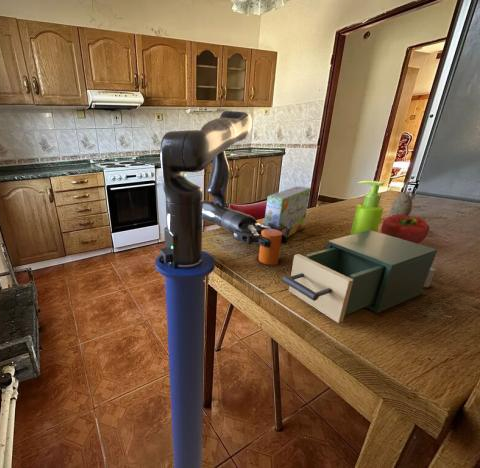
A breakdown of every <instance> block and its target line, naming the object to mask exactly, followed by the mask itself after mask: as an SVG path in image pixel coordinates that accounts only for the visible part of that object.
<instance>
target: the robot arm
mask: <svg viewBox="0 0 480 468" xmlns="http://www.w3.org/2000/svg"><path fill="white" fill-rule="evenodd" d="M252 124H253V120H252V116H251V115H250V113H248V112H245V111H235V110H224V111H222V112H221V114H220V116H219V117H218V118H215V119H212V120H210V121H208V122H206V123H205V124H204V125H203V126H202V127H201V129H200V130H199V129H198V130H197V129H195V130H194V129H192V130H189V129H188V130H172V131H168V132H167V131H166V133H164V135H163V137H162V139H161V142H160V147H159V149H160V150H159V151H160V153H159V155H160V156H159V157H160V158H159V159H160V166H161V176H162V178H161V179H162V186H163V187H162V188H163V192H164V195H165V214H166V216H165V217H166V218H165V219H166V226H165V227H164V228H163V233H164V247H162V248H159V250H158V251H159V255H160V257H159V258H158V261H159V262H160V263H162V264H164V263H169V264H170V265H171V266H172V267H173V268H174V269H176V268H182V269H187V268H194V267H196V266H198V265H200V264H201V263H202V251H203V221H206V222H208V223H212V224H214V225H217V226H218V227H220V228H221V229H224V230H225V232H227V233H229V234H231V235H233V239H234V240H236V241H239V242H240V243H244V244H247V245H252V243H253V244H255V245H259V246H260V245H262V246H264V247H266V248H270V245H271V241H270V240H269V239H267V238H265V237H263V236H261V231H262V230H264V229H275V230H279V231H282V229H281V228H279V227H277V226H275V225H274V224H272V223H268V226H264V224H262V223H259V222H257V219H256V218H255V217H253V216H252V215H250V214H247V213H244V212H242V211H239V210H235V209H232V208H231V207H230V208H229V207H227V206H226V193H227V188H228V185H229V181H230V178H231V177H230V175H231V174H230V173H231V171H230V165H229V162H228V159H227V156H226V155H227V154H226V150H227V149H228V148H230V147H231V146H233V145H234V144H236V143H238V142H241V141H244V140H245V139H246V138H247V137H248V136H249V134H250V132H251V130H252V126H253V125H252ZM211 163H212V164H211ZM210 164H211V171H210V175H209V179H208V183H207V187H206V193H207V194H208V195H210V196H212V197H213V201H211V200H203V199H204V197H203V195H204V194H203V189H202V188H201V187H200V186H199V185H198V184H195V183H193V182H191V181H190V180H188V179H187V177H186V176H185V174H184V173H199V172H202V171H203V170H205V169H206V168H207V167H208V166H209V165H210ZM288 241H289V236H286V235H284V234H282V239H281V244H283V245H286V244H288Z"/></svg>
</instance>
